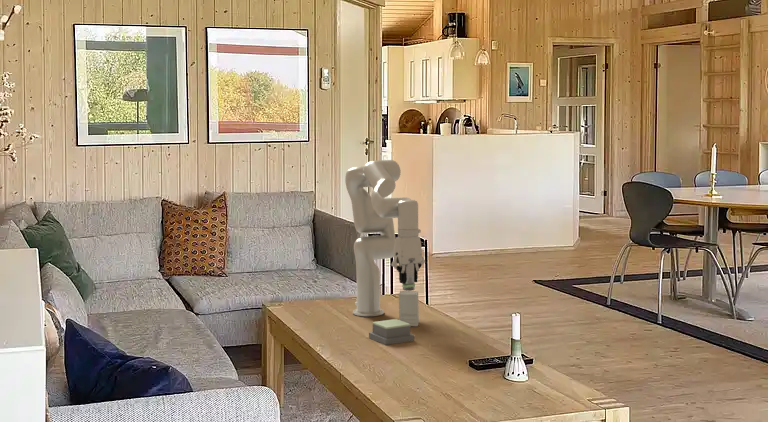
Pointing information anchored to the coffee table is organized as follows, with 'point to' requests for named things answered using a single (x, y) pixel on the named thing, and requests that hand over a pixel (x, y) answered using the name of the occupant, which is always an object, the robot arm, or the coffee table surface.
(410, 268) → the clear jar with lid
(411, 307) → the supplement box
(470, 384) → the coffee table surface
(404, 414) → the coffee table surface
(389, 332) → the pedestal
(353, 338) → the coffee table surface
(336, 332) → the coffee table surface
